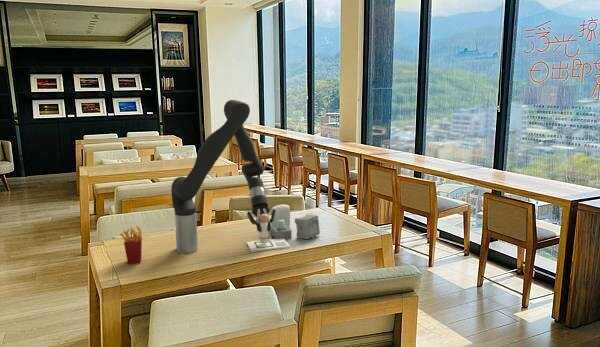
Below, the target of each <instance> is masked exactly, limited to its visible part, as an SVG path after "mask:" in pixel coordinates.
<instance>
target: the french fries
mask: <svg viewBox="0 0 600 347" xmlns="http://www.w3.org/2000/svg"><path fill="white" fill-rule="evenodd" d="M136 229H137V231H138V232H137V231H136V230H135V227H130V228H129V229H127V230H123V232H121V233H120V234H119V235H120V237H121V238H122V239H123V240H124V242H123V245H124V251H125V256H126V261H127V265H135V264H136V263H138V264H141V262H142V248H143V243H142V242H143V239H142V238H143V237H142V234H143V233H142V229H141V228H140V225H137V226H136ZM129 232H130V234H129ZM136 265H137V264H136Z"/></svg>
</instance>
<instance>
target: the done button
mask: <svg viewBox="0 0 600 347" xmlns="http://www.w3.org/2000/svg"><path fill="white" fill-rule="evenodd" d="M278 230H285V220H278Z"/></svg>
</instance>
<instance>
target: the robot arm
mask: <svg viewBox="0 0 600 347" xmlns="http://www.w3.org/2000/svg"><path fill="white" fill-rule="evenodd" d="M250 112H251V110H250V105H249V104H248V103H246V102H244V101H240V100H236V99H229V100H228V101H226V102H225V103H224V106H223V113H224V116H225V118H226V120H225V122H224V123H223V125H222V126H220V127H219V128H218V129H216V130H215V131H213V132H212V133H211V134H210V135H209V136H207V138H206V139H204V141H203V143H202V144H201V146H200V147H199V149H198V151H197V155H196V157H195V162H194V164H193V167H192V169H191V170H190V171H189V173H188V175H187V176H179V177H178V176H177V177H176V178H175V179H174V180H173V182H172V183H171V190H170V191H171V200H172V207H173V210H174V221H175V222H174V223H175V242H176V243H175V244H176V245H175V246H176V252H177V253H178V254H179V253H180V254H181V253H182V254H190V253H194V252H197V251H198V250H199V246H198V245H199V242H198V224H197V223H198V221H197V220H198V219H197V208H196V205H195V202H194V201H193V198H194V197H195V196H197V194H198V193H199V190H200V188H201V187H202V185H203V183H204V181H205V179H206V178H207V176H208V174H209V173H210V171H211V170H212V168H213V167H214V166H215V164H216V162H217V161H218V160H219V158H220V157H221V155H222V154H223V152H224V151H225V149H226V147H227V146H228V144H229V143H230V142H231V140H232V139H233V137H234V139H235V140H236V142H237V145H238V146H237V147H238V148H239V149H238V150H239V153H240V157H241V159H242V160H243V161H245V162H249V163H245V164H243V165H242V166H241V172H242V174H243V176H244V178H245V181H246V182H247V185H248V189H249V200H250V204H251V205H250V206H251V211H247V212H246V217H247V218H248V220H249V221H250V223H251V224H252V225H256V230H257V232H258V233H260V232H261V226H260V223H259V215H260V214H267V215H268V232H270V231H271V223H272V222H273V220H274V215H275V209H273V210H271V208H269V204H268V198H267V194H266V191H265V187H264V182H263V179H262V178H261V177H257V176H261V175H263V173H264V172H265V171H264V170H265V168H264V165H263V163H262V162H261V160H260V158H259V156H257V153H256V149H255V145H254V143H253V140H252V138H251V136H250V135H249V133H248V132H247V129H246V128H245V126H244V124H245V123H246V121H247V119H248V118H249V117H250ZM269 213H270V217H269ZM255 217H256V218H255Z"/></svg>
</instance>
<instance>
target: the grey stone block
mask: <svg viewBox="0 0 600 347" xmlns="http://www.w3.org/2000/svg"><path fill="white" fill-rule="evenodd" d="M294 223H295V225H296V238H298V239H306V240H308V239H314V238H315V237H316V236H318V235H320V231H321V230H320V222H319V216H318V215H315V214H306V215H305V216H301V217H295V218H294Z"/></svg>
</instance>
